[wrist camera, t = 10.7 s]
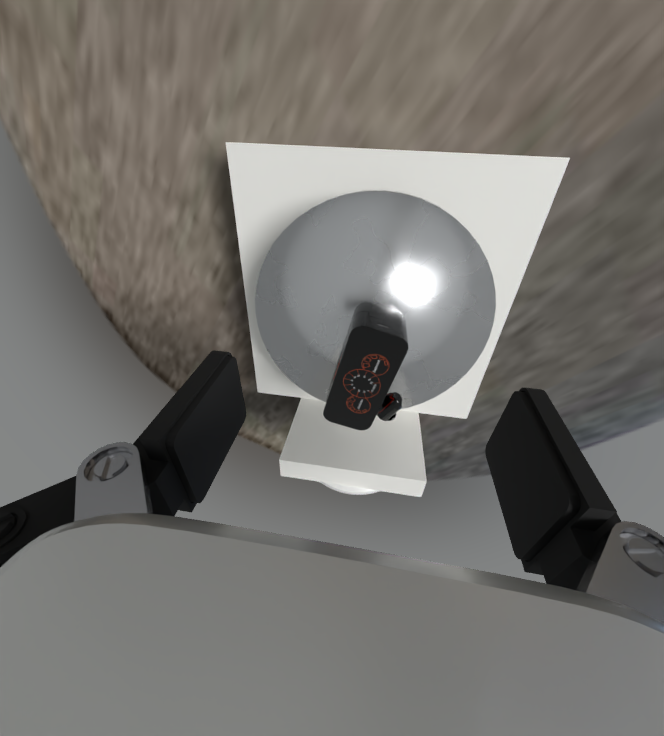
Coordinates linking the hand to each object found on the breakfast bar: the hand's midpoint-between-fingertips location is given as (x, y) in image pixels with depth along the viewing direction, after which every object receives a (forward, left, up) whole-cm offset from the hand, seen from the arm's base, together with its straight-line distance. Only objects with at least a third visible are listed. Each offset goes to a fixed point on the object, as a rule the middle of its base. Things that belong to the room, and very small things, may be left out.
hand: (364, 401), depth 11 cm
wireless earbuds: (+3, 0, -8) cm, 8 cm away
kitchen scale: (+2, 0, -12) cm, 12 cm away
